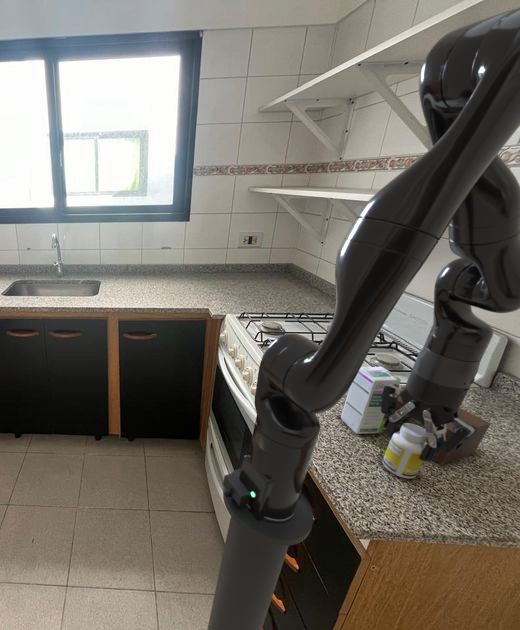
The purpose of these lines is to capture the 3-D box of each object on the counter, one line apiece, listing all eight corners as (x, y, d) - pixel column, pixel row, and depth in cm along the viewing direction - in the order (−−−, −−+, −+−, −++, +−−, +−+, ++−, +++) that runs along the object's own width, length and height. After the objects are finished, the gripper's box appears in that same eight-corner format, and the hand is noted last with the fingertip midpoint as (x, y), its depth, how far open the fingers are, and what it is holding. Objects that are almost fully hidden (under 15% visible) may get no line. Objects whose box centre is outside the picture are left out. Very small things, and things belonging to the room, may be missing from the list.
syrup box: (356, 434, 77) (376, 380, 72) (339, 417, 83) (356, 365, 77) (381, 434, 78) (403, 380, 72) (362, 416, 83) (381, 364, 77)
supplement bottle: (417, 468, 69) (436, 430, 65) (414, 484, 65) (433, 445, 61) (384, 453, 72) (399, 416, 68) (379, 468, 69) (395, 430, 65)
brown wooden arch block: (441, 465, 70) (457, 434, 66) (372, 420, 82) (383, 392, 79) (474, 453, 72) (491, 423, 69) (402, 411, 84) (414, 384, 81)
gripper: (383, 357, 65) (357, 427, 72) (479, 402, 53) (437, 482, 59) (412, 351, 67) (384, 419, 74) (510, 393, 55) (466, 471, 61)
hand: (408, 447), depth 67 cm, fingers closed on supplement bottle, 5 cm apart
